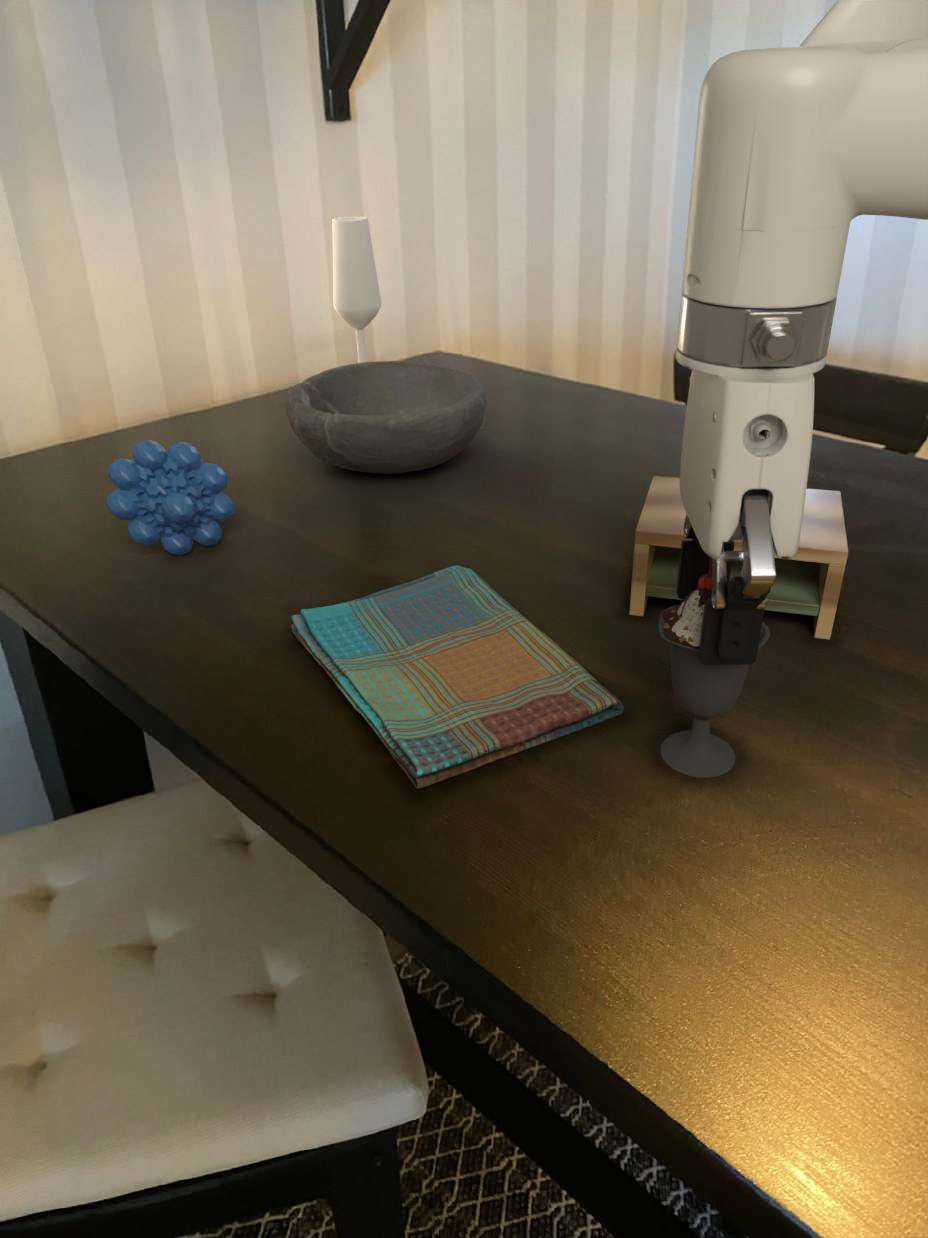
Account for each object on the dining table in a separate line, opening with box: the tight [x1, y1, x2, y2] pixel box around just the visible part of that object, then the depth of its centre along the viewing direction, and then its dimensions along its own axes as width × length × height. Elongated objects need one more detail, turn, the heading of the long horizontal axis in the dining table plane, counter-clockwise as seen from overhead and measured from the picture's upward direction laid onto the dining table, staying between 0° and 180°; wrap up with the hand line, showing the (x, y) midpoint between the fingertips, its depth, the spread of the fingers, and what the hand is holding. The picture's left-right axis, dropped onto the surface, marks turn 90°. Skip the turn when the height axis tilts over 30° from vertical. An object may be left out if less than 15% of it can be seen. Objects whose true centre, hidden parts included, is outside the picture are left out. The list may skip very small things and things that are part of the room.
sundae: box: [658, 545, 771, 779], centre depth 57 cm, size 7×7×15 cm
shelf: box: [628, 475, 849, 640], centre depth 77 cm, size 12×16×8 cm
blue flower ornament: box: [106, 439, 236, 556], centre depth 85 cm, size 12×7×12 cm, turn 119°
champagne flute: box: [331, 215, 382, 363], centre depth 126 cm, size 7×7×24 cm
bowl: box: [285, 360, 487, 475], centre depth 105 cm, size 23×22×10 cm
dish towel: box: [290, 564, 624, 790], centre depth 69 cm, size 17×23×2 cm
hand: (713, 625), depth 55 cm, fingers closed on sundae, 6 cm apart
